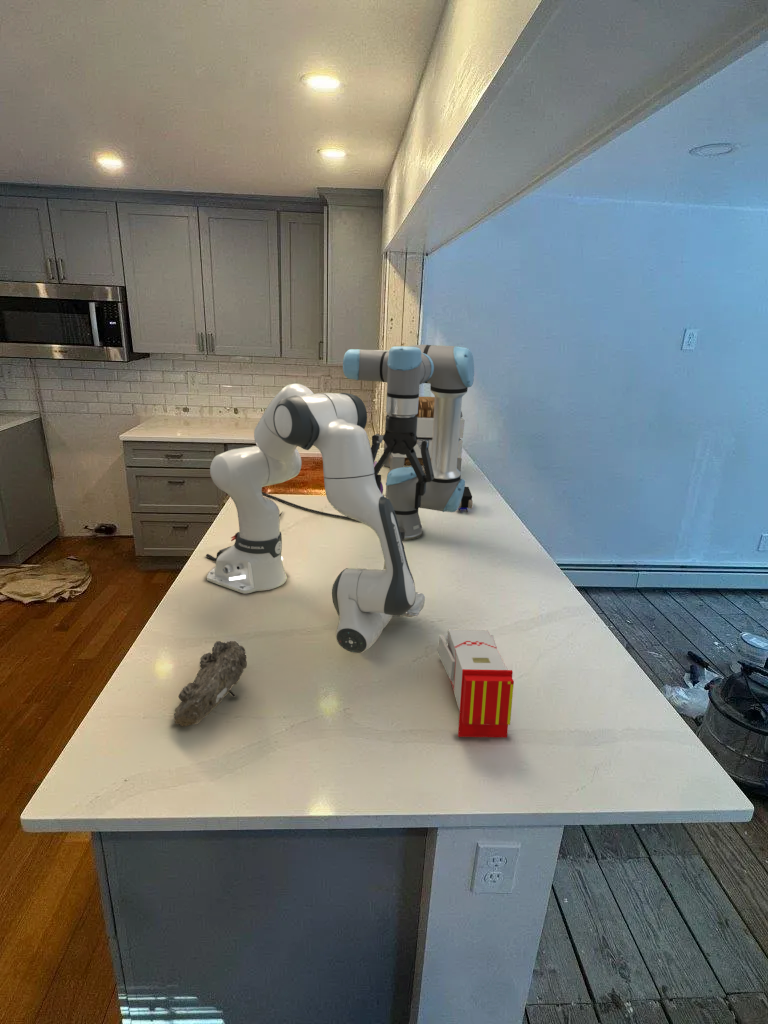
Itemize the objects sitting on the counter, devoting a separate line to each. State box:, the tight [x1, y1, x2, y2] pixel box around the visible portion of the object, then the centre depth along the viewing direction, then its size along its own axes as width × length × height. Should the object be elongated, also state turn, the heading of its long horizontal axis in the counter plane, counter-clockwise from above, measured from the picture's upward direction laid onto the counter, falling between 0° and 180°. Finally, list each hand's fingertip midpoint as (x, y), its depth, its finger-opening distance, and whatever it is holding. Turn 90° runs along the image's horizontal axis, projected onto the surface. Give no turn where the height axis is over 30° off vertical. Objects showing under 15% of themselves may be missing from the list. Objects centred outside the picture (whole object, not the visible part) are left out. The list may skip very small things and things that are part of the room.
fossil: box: [173, 640, 248, 727], centre depth 113 cm, size 22×10×15 cm
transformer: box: [383, 396, 465, 474], centre depth 268 cm, size 34×33×41 cm
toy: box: [437, 628, 515, 738], centre depth 117 cm, size 12×13×30 cm
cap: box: [399, 527, 405, 542], centre depth 144 cm, size 5×5×2 cm
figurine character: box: [458, 486, 474, 513], centre depth 227 cm, size 7×8×15 cm
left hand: (393, 584), depth 149 cm, fingers closed on bottle, 5 cm apart
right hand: (396, 504), depth 141 cm, fingers open, 10 cm apart
